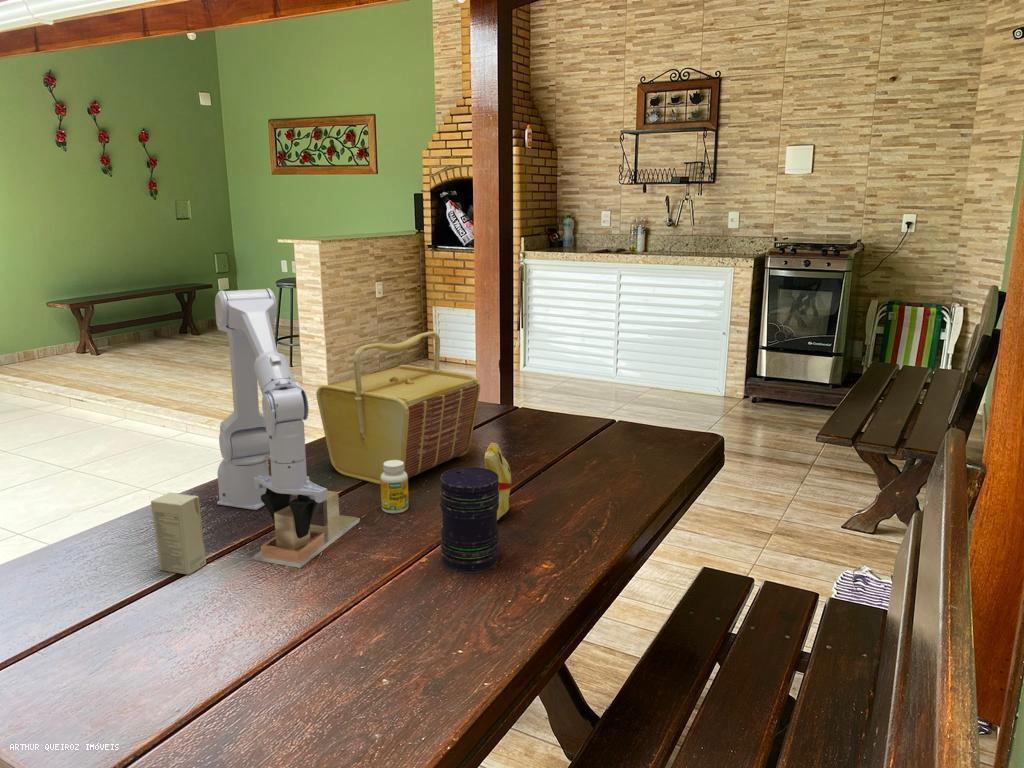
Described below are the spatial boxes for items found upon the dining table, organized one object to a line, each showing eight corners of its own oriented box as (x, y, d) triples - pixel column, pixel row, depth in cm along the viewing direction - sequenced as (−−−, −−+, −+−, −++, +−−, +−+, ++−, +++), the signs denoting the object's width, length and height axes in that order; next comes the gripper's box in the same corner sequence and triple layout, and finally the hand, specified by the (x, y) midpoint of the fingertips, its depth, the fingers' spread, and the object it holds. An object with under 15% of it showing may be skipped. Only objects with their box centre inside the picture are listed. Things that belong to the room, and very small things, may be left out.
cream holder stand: (253, 559, 128) (251, 522, 127) (318, 515, 147) (316, 482, 145) (300, 567, 126) (297, 529, 124) (359, 521, 144) (358, 488, 143)
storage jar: (511, 560, 129) (511, 477, 126) (467, 579, 122) (466, 492, 119) (472, 542, 136) (472, 462, 133) (429, 559, 129) (427, 476, 126)
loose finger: (276, 545, 130) (274, 513, 129) (294, 535, 134) (293, 503, 133) (294, 550, 129) (292, 517, 127) (312, 540, 133) (310, 508, 131)
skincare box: (207, 564, 126) (201, 495, 124) (188, 576, 122) (182, 505, 120) (176, 558, 128) (169, 490, 126) (157, 569, 124) (149, 500, 122)
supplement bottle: (401, 501, 154) (400, 456, 152) (413, 510, 150) (412, 464, 148) (376, 507, 151) (375, 461, 149) (388, 516, 147) (386, 469, 145)
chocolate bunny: (518, 508, 151) (518, 436, 148) (493, 529, 141) (493, 452, 138) (487, 503, 154) (487, 432, 151) (461, 522, 144) (460, 447, 141)
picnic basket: (405, 496, 157) (401, 354, 150) (315, 473, 170) (308, 341, 163) (483, 458, 181) (483, 334, 174) (400, 440, 194) (397, 324, 188)
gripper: (337, 458, 128) (341, 532, 131) (272, 445, 134) (277, 517, 137) (309, 470, 122) (313, 548, 125) (242, 456, 128) (248, 531, 131)
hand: (292, 533), depth 131 cm, fingers closed on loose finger, 4 cm apart
